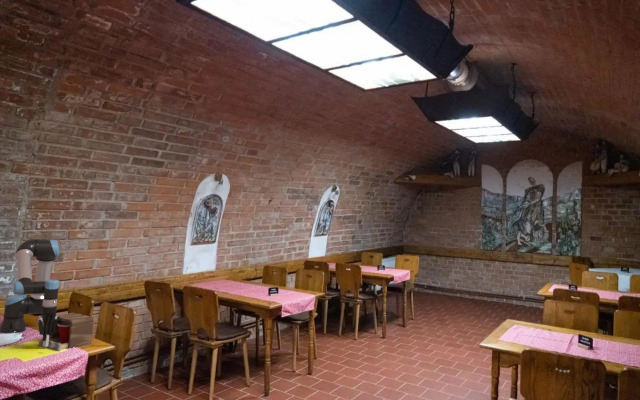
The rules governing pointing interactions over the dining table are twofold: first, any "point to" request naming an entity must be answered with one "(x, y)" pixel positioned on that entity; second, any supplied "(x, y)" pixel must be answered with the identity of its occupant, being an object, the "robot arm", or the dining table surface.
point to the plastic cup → (64, 331)
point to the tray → (54, 344)
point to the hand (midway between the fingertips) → (45, 346)
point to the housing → (76, 329)
